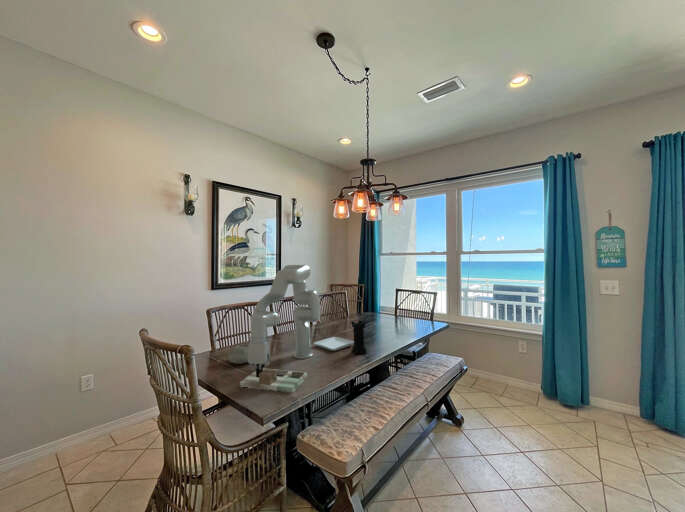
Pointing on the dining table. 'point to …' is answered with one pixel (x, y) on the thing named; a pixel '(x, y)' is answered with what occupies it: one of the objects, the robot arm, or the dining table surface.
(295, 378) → the trap box
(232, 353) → the grey stone
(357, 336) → the chess piece
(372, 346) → the dining table surface
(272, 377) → the walnut block
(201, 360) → the dining table surface
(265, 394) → the dining table surface
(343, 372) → the dining table surface
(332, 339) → the salad plate
